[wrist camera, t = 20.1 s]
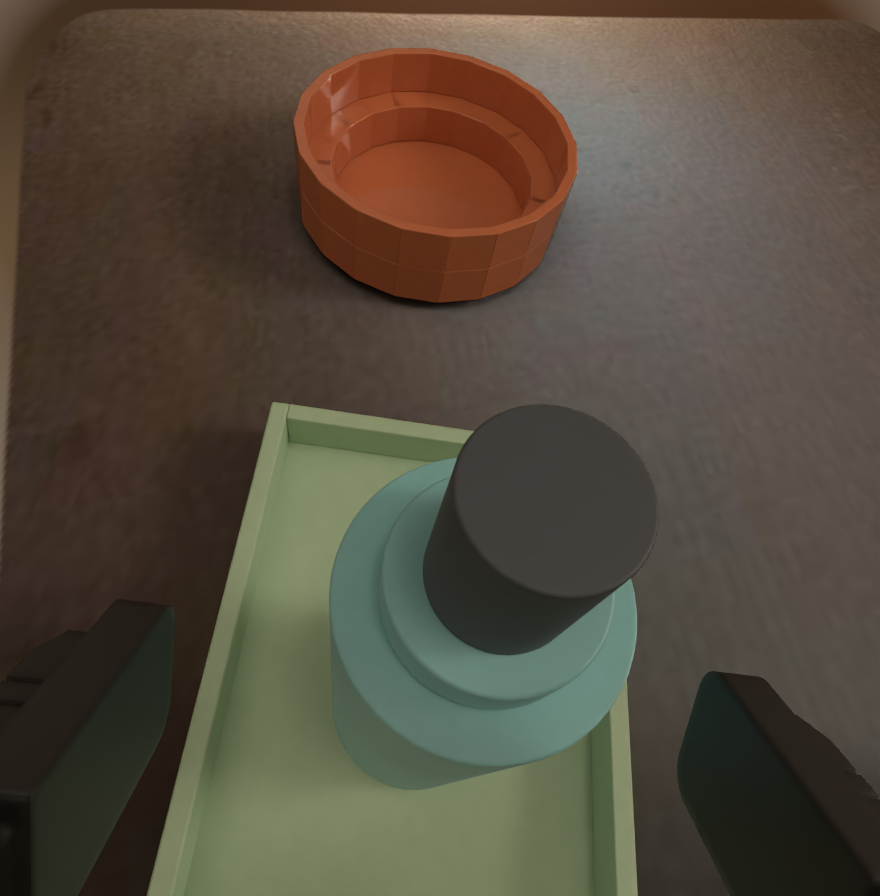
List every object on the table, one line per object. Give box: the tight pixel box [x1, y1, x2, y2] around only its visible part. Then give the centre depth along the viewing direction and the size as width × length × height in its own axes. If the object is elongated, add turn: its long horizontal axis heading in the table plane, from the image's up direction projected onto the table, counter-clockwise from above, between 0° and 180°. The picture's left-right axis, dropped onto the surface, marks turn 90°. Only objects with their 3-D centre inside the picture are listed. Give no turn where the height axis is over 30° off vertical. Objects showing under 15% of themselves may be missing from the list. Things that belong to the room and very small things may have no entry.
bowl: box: [293, 48, 577, 303], centre depth 35 cm, size 14×14×5 cm
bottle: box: [329, 405, 659, 790], centre depth 16 cm, size 6×6×18 cm
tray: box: [147, 402, 638, 896], centre depth 23 cm, size 14×20×3 cm
